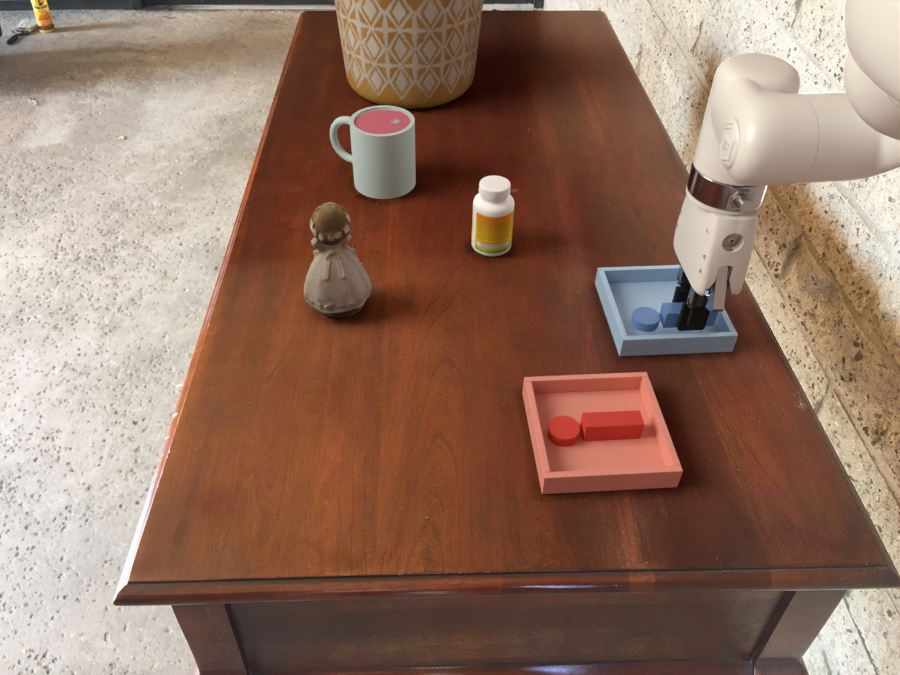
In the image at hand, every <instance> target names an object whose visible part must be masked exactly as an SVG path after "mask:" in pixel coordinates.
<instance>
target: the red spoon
mask: <svg viewBox="0 0 900 675" xmlns="http://www.w3.org/2000/svg"><path fill="white" fill-rule="evenodd" d="M644 425H645V424H644V421H643V418H642V415H641V413H640V410H634V411H611V412H589V413H582V418H581V423H580V426H579V424H578V422H577V421H576V420H575V419H573V418H571V417H569V416H557V417H554V418H553V419H552V420H551V421H550V422H549V426H548V437H549V439H550V440H551V442H553V443H554V444H556V445H558V446H562V447H568V446H572V445H574V444H575V443H576V442H577V441H578V438H579V433H580V430H581V434H582V438H583V441H598V440H619V439H640V438H641V436H642V432H643V429H644Z"/></svg>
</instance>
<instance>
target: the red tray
mask: <svg viewBox="0 0 900 675" xmlns="http://www.w3.org/2000/svg"><path fill="white" fill-rule="evenodd" d="M522 399H523V404H524V409H525V414H526V420H527V425H528V430H529V435H530V440H531V446H532V451H533V457H534V460H535V465H536V466H535V467H536V471H537V476H538V482H539V487H540V490H541V494H542V495H554V494H555V495H556V494H573V493H574V494H575V493H592V492H593V493H595V492H610V491H611V492H613V491H630V490H632V491H633V490H650V489H669V488H671V489H672V488H678V486H679V484H680V480H681V478H682V476H683V472H684V469H683V467H682V464H681V462H680V459H679V456H678V453H677V451H676V448H675V446H674V443H673V440H672V437H671V435H670V434H671V433H670V432H669V429H668V426H667V424H666V421H665V417H664V415H663V413H662V409H661V406H660V405H659V404H660V403H659V402H658V399H657V397H656V393H655V390H654V388H653V384H652V382H651V380H650V377H649V374H648V372H647V371H636V372H611V373H610V372H609V373H589V374H587V373H585V374H563V375H562V374H561V375H539V376H524V377H523V385H522ZM634 410H640V413H641V415H642V418H643V421H644V424H645V425H644V429H643V432H642V436H641V438H640V439H619V440H598V441H583V438H582V434H581V430H580V433H579V438H578V441H577V442H576V443H575V444H574V445H572V446H568V447H562V446H558V445H556V444H554V443H553V442H551V440H550V439H549V437H548V426H549V422H550V421H551V420H552V419H553V418H554V417H557V416H569V417H571V418H573V419H575V420H576V421H577V422H578V424H579V426H580V423H581V418H582V413H589V412H611V411H634Z"/></svg>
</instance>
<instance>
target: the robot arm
mask: <svg viewBox="0 0 900 675" xmlns="http://www.w3.org/2000/svg"><path fill="white" fill-rule="evenodd" d="M842 10H843V11H842V29H843V35H844V40H845V43H846V46H847V49H848V50H847V52H846V54H845V58H844V62H843V70H842V71H843V72H842V73H843V85H844V90H845V91H822V92H821V91H820V92H819V91H818V92H800V89H801V76H800V75H801V74H800V73H799V71H798V69H797V68H796V67H795V66H794V64H792V63H791V62H789V61H788V60H786V59H784V58H782V57H778V56H776V55H771V54H768V53H761V52H760V53H759V52H743V53H742V52H741V53H736V54H734V55H731V56H729V57H726V58H725V59H724V60H723V61H722V62H721V63H720V64H719V66H718V67H717V69H716V71H715V74H714V76H713V80H712V83H711V87H710V91H709V92H710V93H709V96H708V100H707V103H706V107H705V111H704V115H703V118H702V119H703V120H702V122H701V127H700V130H699V135H698V139H697V144H696V147H695V149H694V150H695V151H694V155H693V159H692V163H691V167H690V170H689V175H688V178H687V182H686V186H685V193H686V194H685V196H684V200H683V202H682V206H681V208H680V212H679V215H678V218H677V222H676V226H675V231H674V235H673V249H674V252H675V255H676V258H677V259H678V262H679V265H680V267H679V271H678V274H677V284H678V285H680V286H676V289H675V292H674V296H673V300H672V302H676V303H678V302H683V304H682V308H681V311H680V315H679V318H678V322H677V325H676V327H677V329H678V331H693V330H703V329H704V328H705V326H706V323H707V320H708V316H709V313H710V312H723V310H724V309H725V304H726V294H727V290H728V291H729V292H730V295H735V296H737V295H739V294H740V293H741V291H742V290H743V287H744V283H745V280H746V277H747V273H748V269H749V267H750V262H751V258H752V254H753V252H754V251H753V250H754V246H755V243H756V242H755V241H756V236H757V229H758V223H759V222H758V221H759V211H758V210H759V209H760V207H762V203H763V200H764V197H765V195H766V192H767V188H768V187H772V186H786V185H796V184H813V183H829V182H849V181H850V182H851V181H858V180H864V179H868V178H871V177H872V178H873V177H876V176H878V175H882V174H885V173H888V172H890V171H893V170H896V169H898V168H900V0H844V4H843V9H842ZM705 291H709V293H708V295H704V294H705V293H706V292H705Z"/></svg>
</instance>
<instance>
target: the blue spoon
mask: <svg viewBox="0 0 900 675" xmlns="http://www.w3.org/2000/svg"><path fill="white" fill-rule="evenodd" d="M682 304H683V302H678V303H676V302H670V303H662V306H661V310H660V314H659V313H658V312H657V311H656V310H654V309H652V308H649V307H639V308H636V309H635V310H634V311H633V313H632V317H631V324H632V326H633V327H634V328H635V329H637V330H639V331H642V332H652V331H655V330H656V329H657V328H658V326H659V323H660V321H661V324H662V326H663V328H677V327H676V325H677V322H678V318H679V315H680V311H681V308H682ZM717 314H718V312H710V313H709V316H708V320H707V323H706V326H714V324H715V320H716V317H717Z"/></svg>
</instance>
